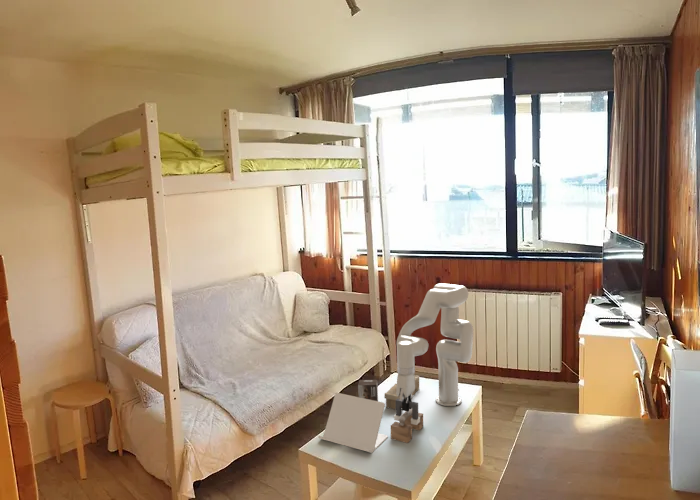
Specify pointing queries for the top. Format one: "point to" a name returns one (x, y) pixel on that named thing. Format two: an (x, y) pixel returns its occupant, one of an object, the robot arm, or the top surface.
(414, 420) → the grey c-shaped block
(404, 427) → the wooden handle frame
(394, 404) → the block tower
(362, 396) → the coffee box
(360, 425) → the tablet stand
